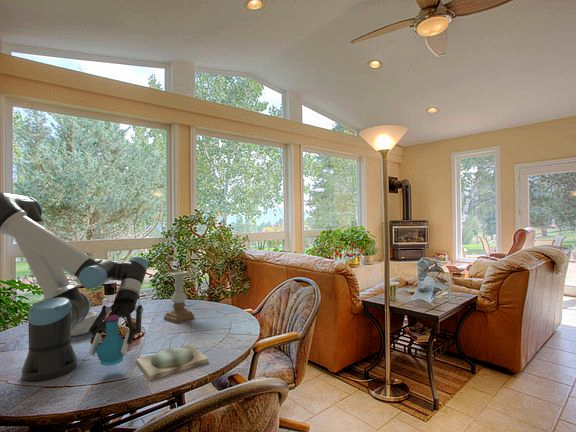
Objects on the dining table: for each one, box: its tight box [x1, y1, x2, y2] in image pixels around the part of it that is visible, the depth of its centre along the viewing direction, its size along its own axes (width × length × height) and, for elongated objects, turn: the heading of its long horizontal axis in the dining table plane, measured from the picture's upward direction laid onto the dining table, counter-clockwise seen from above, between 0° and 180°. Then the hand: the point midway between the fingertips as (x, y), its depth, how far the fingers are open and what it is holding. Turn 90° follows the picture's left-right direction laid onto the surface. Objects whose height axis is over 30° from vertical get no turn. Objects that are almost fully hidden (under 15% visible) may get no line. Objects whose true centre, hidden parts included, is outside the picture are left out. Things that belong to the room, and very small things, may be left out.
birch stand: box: [135, 344, 209, 381], centre depth 115 cm, size 20×16×2 cm
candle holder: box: [163, 270, 195, 324], centre depth 166 cm, size 11×11×24 cm
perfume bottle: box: [95, 315, 125, 367], centre depth 108 cm, size 9×9×15 cm
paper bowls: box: [71, 310, 98, 337], centre depth 146 cm, size 15×15×8 cm
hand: (107, 353), depth 105 cm, fingers closed on perfume bottle, 9 cm apart
